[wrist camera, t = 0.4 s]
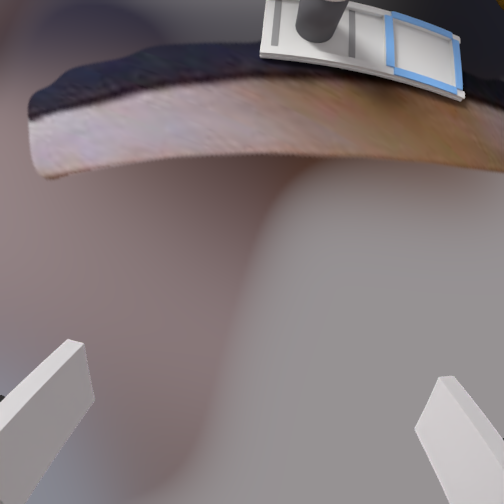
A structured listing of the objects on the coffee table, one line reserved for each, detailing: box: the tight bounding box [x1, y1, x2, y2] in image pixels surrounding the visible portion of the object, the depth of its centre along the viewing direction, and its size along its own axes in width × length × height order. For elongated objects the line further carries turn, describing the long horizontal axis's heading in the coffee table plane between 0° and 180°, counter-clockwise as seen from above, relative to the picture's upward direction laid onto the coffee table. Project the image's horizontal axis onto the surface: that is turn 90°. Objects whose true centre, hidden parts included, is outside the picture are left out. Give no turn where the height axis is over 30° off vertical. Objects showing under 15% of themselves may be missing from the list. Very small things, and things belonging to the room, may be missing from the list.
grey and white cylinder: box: [295, 0, 349, 43], centre depth 24 cm, size 5×5×11 cm
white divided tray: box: [260, 0, 465, 102], centre depth 29 cm, size 10×26×2 cm, turn 85°
